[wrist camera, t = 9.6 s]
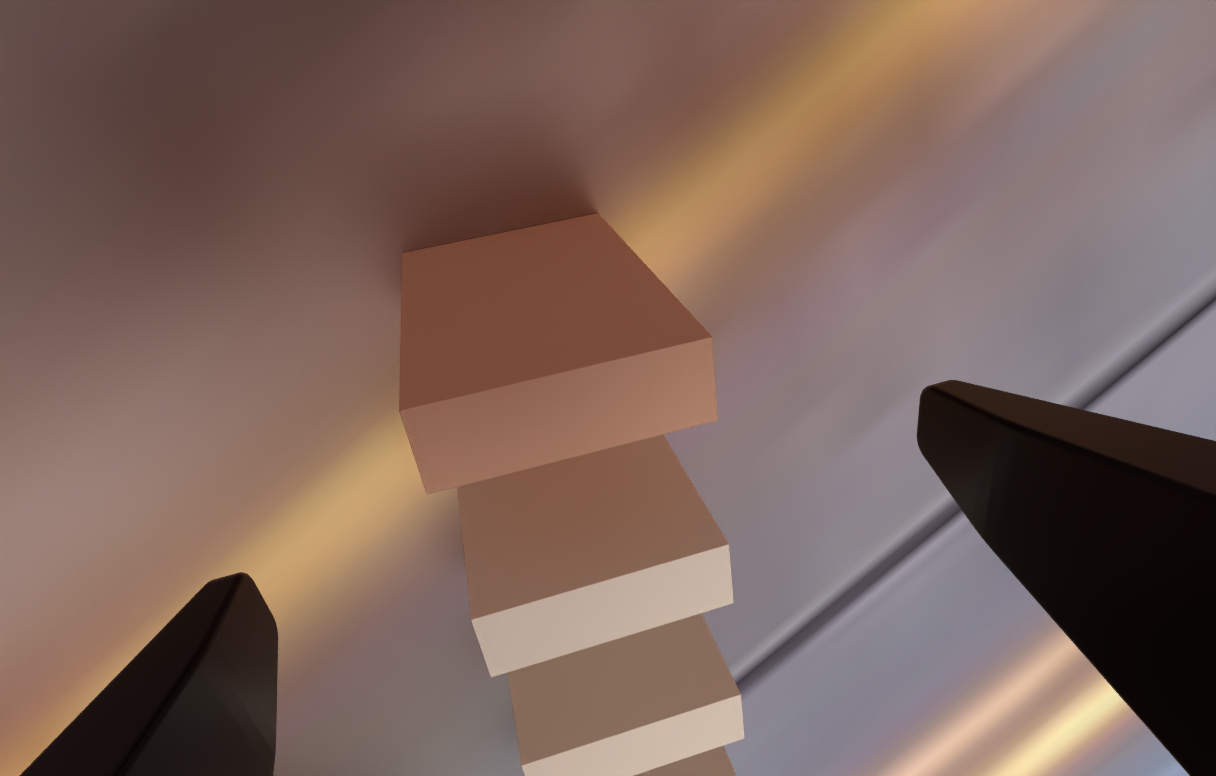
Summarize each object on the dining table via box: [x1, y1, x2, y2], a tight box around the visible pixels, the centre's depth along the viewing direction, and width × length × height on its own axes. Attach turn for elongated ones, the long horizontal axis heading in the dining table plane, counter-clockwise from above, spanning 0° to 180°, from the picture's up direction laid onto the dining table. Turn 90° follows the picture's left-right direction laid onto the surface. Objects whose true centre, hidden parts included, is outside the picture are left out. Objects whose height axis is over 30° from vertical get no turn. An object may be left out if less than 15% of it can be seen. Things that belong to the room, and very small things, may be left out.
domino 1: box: [399, 213, 718, 494], centre depth 15 cm, size 5×2×8 cm, turn 98°
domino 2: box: [457, 434, 733, 677], centre depth 17 cm, size 5×2×8 cm, turn 99°
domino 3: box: [508, 613, 744, 776], centre depth 19 cm, size 5×2×8 cm, turn 99°
